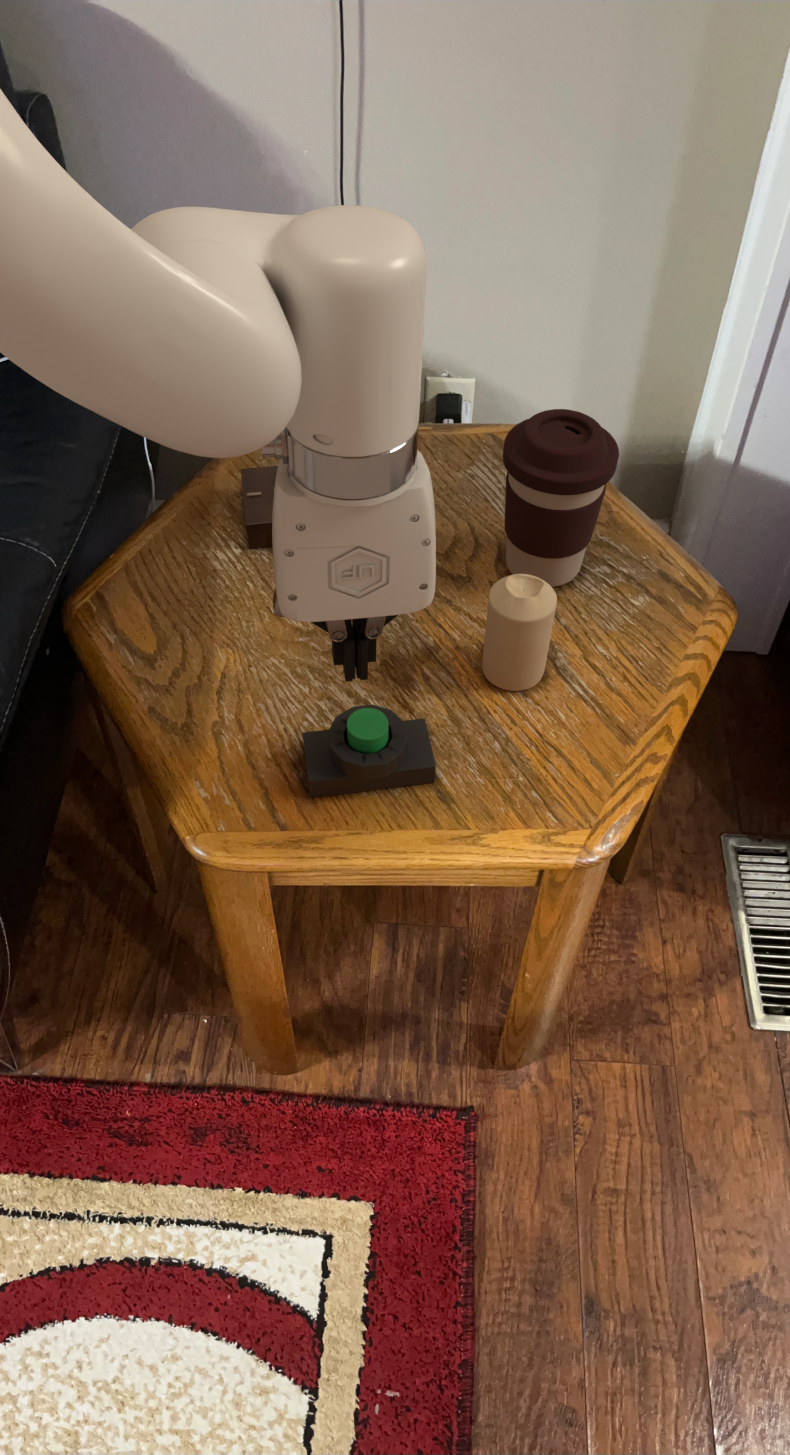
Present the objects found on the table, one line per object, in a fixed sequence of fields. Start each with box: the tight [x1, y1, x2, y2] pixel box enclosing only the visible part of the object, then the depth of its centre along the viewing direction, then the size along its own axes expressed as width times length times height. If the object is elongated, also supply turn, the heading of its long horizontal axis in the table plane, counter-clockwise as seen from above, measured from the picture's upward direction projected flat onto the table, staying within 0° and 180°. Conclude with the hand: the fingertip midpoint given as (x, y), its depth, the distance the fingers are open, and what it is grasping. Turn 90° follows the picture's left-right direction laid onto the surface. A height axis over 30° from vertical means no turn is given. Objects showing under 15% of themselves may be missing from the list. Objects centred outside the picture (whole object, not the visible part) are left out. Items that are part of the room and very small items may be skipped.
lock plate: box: [240, 465, 278, 550], centre depth 98 cm, size 10×9×3 cm
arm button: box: [347, 708, 388, 754], centre depth 76 cm, size 3×3×2 cm
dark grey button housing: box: [302, 704, 437, 798], centre depth 78 cm, size 10×6×4 cm, turn 99°
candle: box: [481, 574, 558, 692], centre depth 82 cm, size 6×6×10 cm
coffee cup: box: [502, 408, 620, 588], centre depth 89 cm, size 10×10×15 cm
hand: (354, 666), depth 70 cm, fingers closed
